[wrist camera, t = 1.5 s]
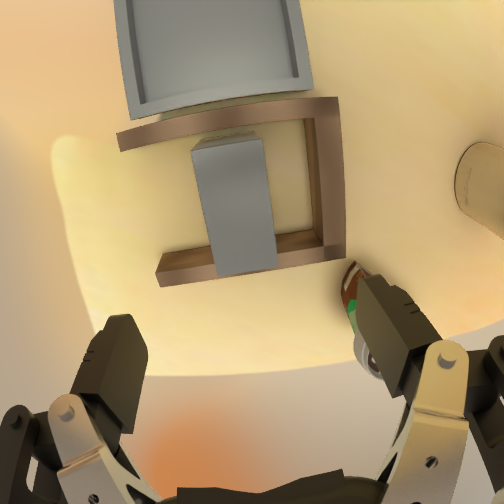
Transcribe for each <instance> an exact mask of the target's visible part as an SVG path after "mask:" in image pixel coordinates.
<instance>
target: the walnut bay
mask: <svg viewBox="0 0 504 504" xmlns="http://www.w3.org/2000/svg"><path fill="white" fill-rule="evenodd" d="M302 118H303V119H304V127H305V136H306V145H307V155H308V166H309V177H310V188H311V201H312V215H313V230H308V231H302V232H295V233H289V234H283V235H276V236H275V240H276V249H277V257H278V266H279V267H275V268H269V269H262V270H256V271H250V272H244V273H237V274H231V275H225V276H218V275H217V271H216V267H215V263H214V258H213V254H212V250H211V246H208V247H202V248H196V249H190V250H184V251H178V252H172V253H166V254H163V255H162V257H161V260H160V262H159V265H158V267H157V270H156V272H155V274H156V277H157V280H158V283H159V285H160V287H167V286H174V285H181V284H188V283H194V282H201V281H208V280H214V279H221V278H227V277H234V276H240V275H246V274H253V273H259V272H265V271H271V270H277V269H283V268H289V267H295V266H301V265H307V264H313V263H319V262H325V261H331V260H336V259H342V258H346V210H345V181H344V162H343V147H342V134H341V123H340V113H339V103H338V97H319V98H303V99H291V100H280V101H271V102H262V103H254V104H247V105H240V106H233V107H227V108H221V109H216V110H210V111H205V112H200V113H195V114H190V115H185V116H181V117H176V118H172V119H168V120H163V121H159V122H155V123H151V124H148V125H144V126H140V127H137V128H133V129H130V130H126V131H123V132H120V133H116V134H117V139H118V144H119V148H120V152H123V151H126V150H130V149H134V148H137V147H141V146H145V145H149V144H153V143H157V142H161V141H165V140H169V139H174V138H178V137H183V136H188V135H193V134H198V133H203V132H208V131H213V130H219V129H225V128H231V127H237V126H243V125H250V124H257V123H265V122H273V121H282V120H291V119H302Z"/></svg>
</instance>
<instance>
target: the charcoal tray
mask: <svg viewBox="0 0 504 504" xmlns="http://www.w3.org/2000/svg"><path fill="white" fill-rule="evenodd" d="M114 10H115V20H116V30H117V38H118V47H119V54H120V61H121V68H122V75H123V81H124V86H125V93H126V98H127V104H128V109H129V115H130V120H135V119H140V118H144V117H148V116H152V115H155V114H160V113H164V112H168V111H172V110H176V109H181V108H185V107H190V106H195V105H200V104H205V103H210V102H216V101H221V100H227V99H234V98H240V97H247V96H255V95H263V94H272V93H282V92H294V91H306V90H312V89H314V87H313V80H312V73H311V66H310V60H309V53H308V47H307V41H306V36H305V30H304V24H303V19H302V14H301V9H300V4H299V0H114Z"/></svg>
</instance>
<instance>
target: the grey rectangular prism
mask: <svg viewBox="0 0 504 504" xmlns="http://www.w3.org/2000/svg"><path fill="white" fill-rule="evenodd" d="M191 156H192V161H193V166H194V171H195V176H196V181H197V186H198V191H199V195H200V200H201V205H202V209H203V214H204V219H205V223H206V228H207V232H208V237H209V241H210V245H211V250H212V254H213V258H214V263H215V267H216V271H217V275H218V276H225V275H231V274H237V273H244V272H250V271H256V270H262V269H269V268H275V267H279V266H278V257H277V249H276V240H275V232H274V224H273V216H272V208H271V200H270V192H269V185H268V177H267V170H266V162H265V155H264V148H263V141H262V138H261V137H260V136H258V135H257V134H256V133H255V132H254V131H249V132H242V133H236V134H230V135H224V136H218V137H212V138H207V139H202V140H200V141H199V142H198V144H197V145H196V146H195V147H194V148H193V149H192V150H191Z"/></svg>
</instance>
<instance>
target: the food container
mask: <svg viewBox="0 0 504 504" xmlns="http://www.w3.org/2000/svg"><path fill="white" fill-rule="evenodd" d="M368 276H372V274H371V273H370V272H369V271H367V270H366V269H365V268H364V267H362V266H361V265H360V264H359V263H357V262H356V261H354V263H353V264H352V265H351V266H350V268H349V269H348V271H347V273H346V275H345V277H344V279H343V282H342V288H341V296H342V300H343V304H344V306H345V309H346V312H347V314H348V317H349V320H350V322H351V325H352V328H353V331H354V333H355V338H354V353H355V356H356V358H357V360H358V362H359V363H360V364H361V365H362V366H363V368H364V369H365V370H366V371H367V372H368V373H369V374H371V375H372V376H374V377H375V378H377V379H379V380H383V381H384V379H383V377H382V375H381V373H380V371H379V369H378V367H377V365H376V363H375V361H374V359H373V357H372V355H371V353H370V351H369V349H368V347H367V345H366V343H365V341H364V339H363V337H362V335H361V333H360V331H359V329H358V326H357V322H356V315H355V312H356V300H357V286H358V280H359V278H363V277H368Z"/></svg>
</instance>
